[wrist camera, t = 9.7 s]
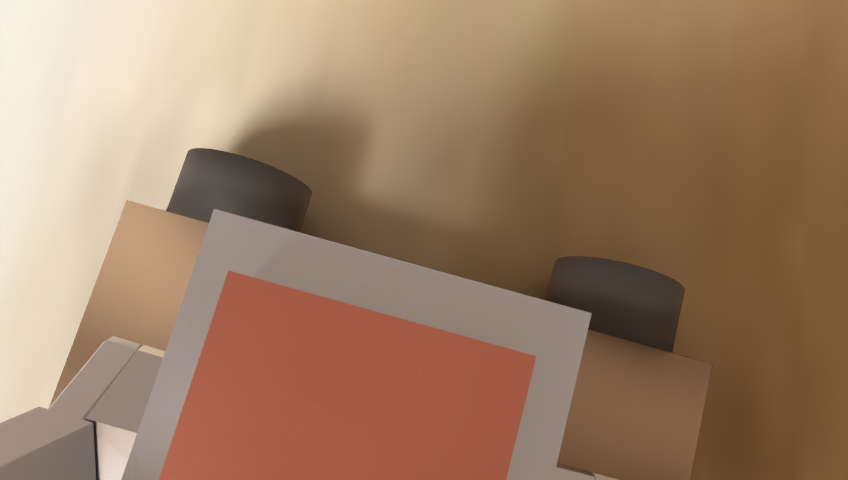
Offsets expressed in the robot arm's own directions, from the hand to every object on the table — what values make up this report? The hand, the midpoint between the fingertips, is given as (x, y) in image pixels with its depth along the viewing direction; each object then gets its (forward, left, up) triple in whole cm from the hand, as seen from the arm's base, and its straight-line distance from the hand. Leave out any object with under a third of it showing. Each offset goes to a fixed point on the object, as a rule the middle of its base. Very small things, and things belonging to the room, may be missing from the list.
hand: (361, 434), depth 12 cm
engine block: (0, 0, -4) cm, 4 cm away
